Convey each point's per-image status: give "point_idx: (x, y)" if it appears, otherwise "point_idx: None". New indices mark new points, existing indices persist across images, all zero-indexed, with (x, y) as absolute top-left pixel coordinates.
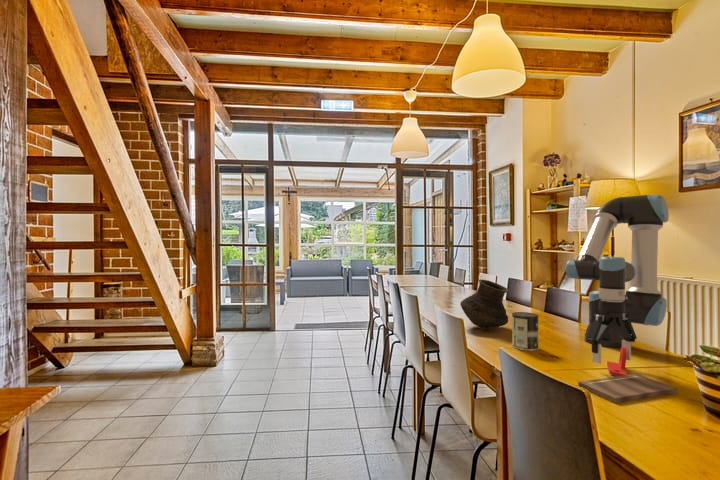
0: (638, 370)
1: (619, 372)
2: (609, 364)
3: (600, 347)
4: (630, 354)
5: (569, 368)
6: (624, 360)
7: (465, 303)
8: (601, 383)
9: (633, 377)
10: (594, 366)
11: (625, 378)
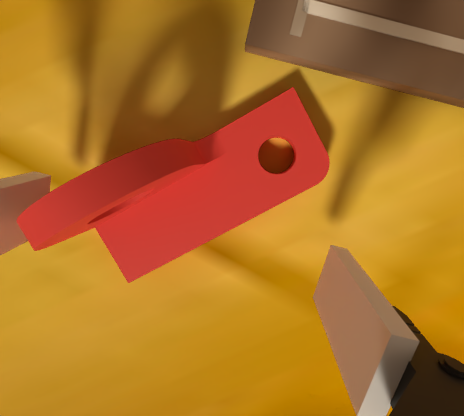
0: (63, 118)
1: (290, 134)
2: (189, 242)
3: (388, 315)
4: (4, 180)
5: None
6: (187, 148)
7: None
8: None
9: (352, 12)
10: (238, 295)
11: (432, 31)
